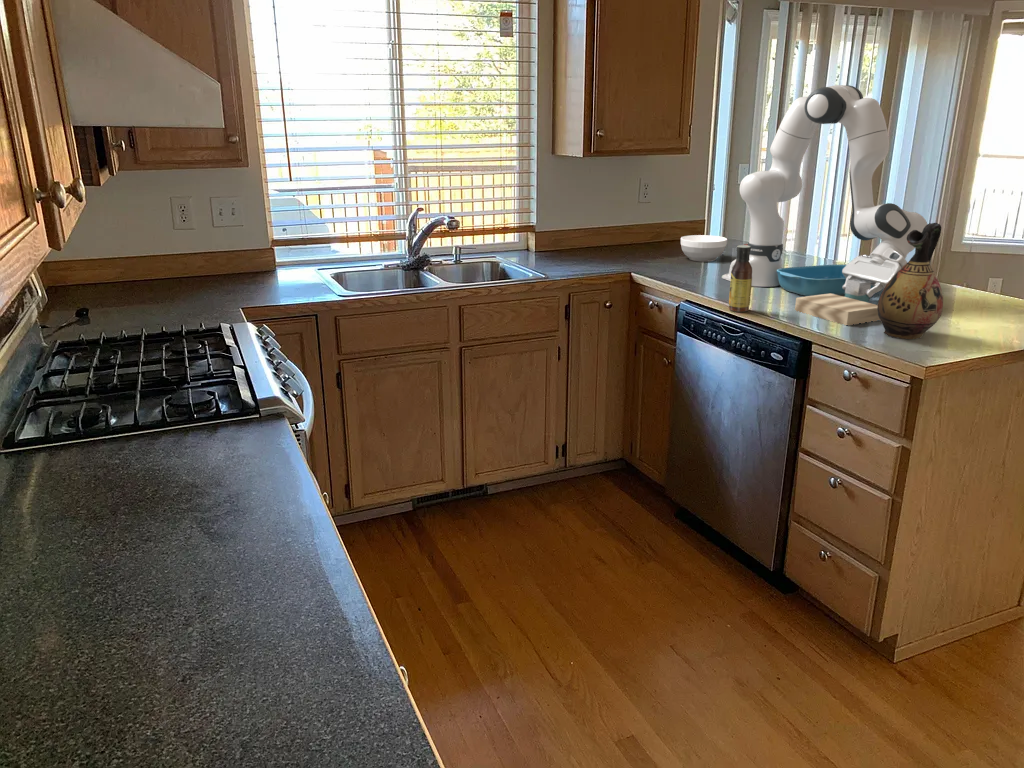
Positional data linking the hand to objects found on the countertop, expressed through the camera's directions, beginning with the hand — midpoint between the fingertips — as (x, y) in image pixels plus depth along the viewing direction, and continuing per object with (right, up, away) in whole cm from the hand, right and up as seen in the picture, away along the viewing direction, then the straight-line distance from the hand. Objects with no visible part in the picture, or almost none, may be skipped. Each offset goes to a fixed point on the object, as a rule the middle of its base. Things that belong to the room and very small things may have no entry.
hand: (855, 292), depth 234 cm
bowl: (-27, +24, +82) cm, 90 cm away
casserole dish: (+1, +3, +24) cm, 24 cm away
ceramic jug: (0, -15, -30) cm, 33 cm away
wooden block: (-10, -8, -9) cm, 15 cm away
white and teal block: (+1, -4, +2) cm, 4 cm away
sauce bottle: (-37, -6, -2) cm, 38 cm away
